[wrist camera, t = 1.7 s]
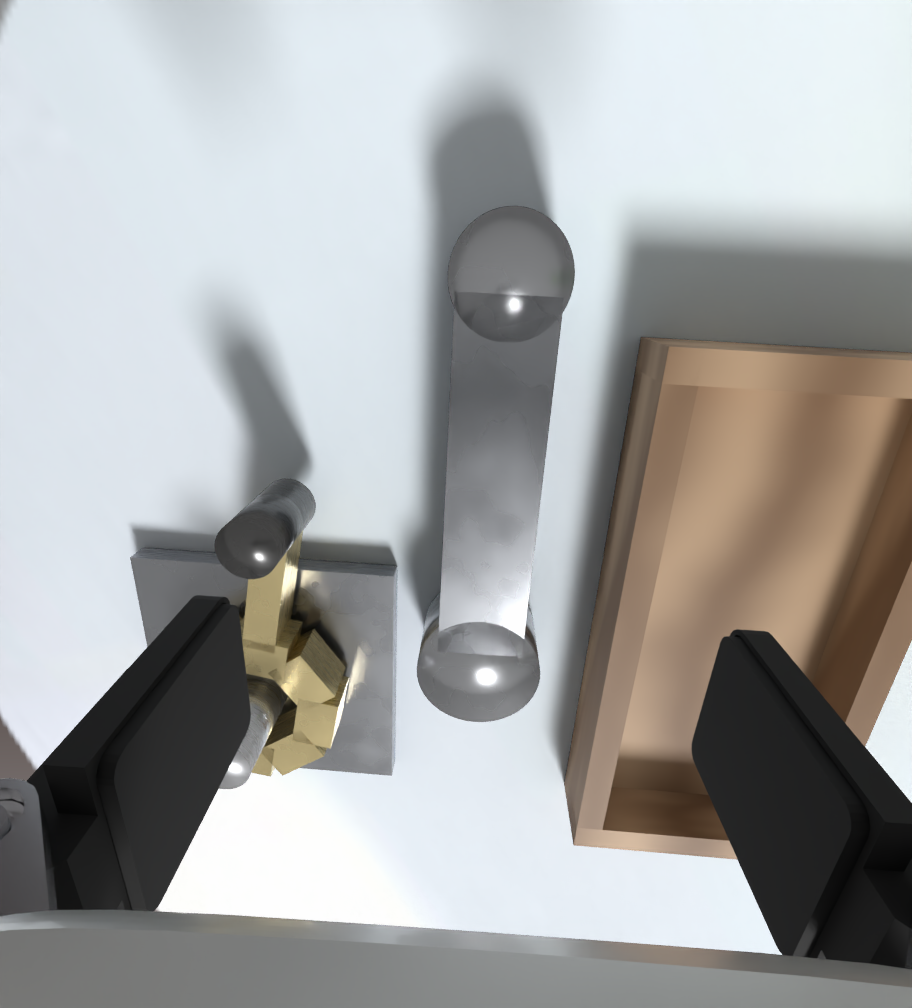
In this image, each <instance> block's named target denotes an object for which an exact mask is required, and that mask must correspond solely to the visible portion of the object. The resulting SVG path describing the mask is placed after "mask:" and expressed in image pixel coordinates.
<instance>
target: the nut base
mask: <svg viewBox="0 0 912 1008" xmlns="http://www.w3.org/2000/svg"><path fill="white" fill-rule="evenodd" d="M130 559H131V564H132V569H133V574H134V579H135V584H136V590H137V595H138V600H139V605H140V610H141V615H142V621H143V626H144V631H145V636H146V641H147V646H149V645H150V644H151V643H152V642H153V641H154V640H155V638H156V637H157V636H158V635H159V634H160V633H161V632H162V631H163V629H164V628H165V627H166V626H167V625H168V624H169V623H170V622H171V621H172V619H173V618H174V617H175V616H176V615H177V614H178V613H179V612H180V610H181V609H182V608H183V607H184V606H185V605H186V604H187V603H188V602H189V600H190V599H191V598H192V597H194V596H196V595H204V596H220V597H226V598H228V600H229V601H230V605H236V606H237V608H238V611H239V614H240V616H241V617H242V618H243V617H244V616H245V608H246V598H247V587H248V579H245V578H241V577H238V576H236V575H234V574H232V573H230V572H229V571H228V570H227V569H225V568H224V567H223V565H222V564H221V563H220V561H219V560H218V558H217V555H216V553H210V552H196V551H182V550H168V549H155V548H142V549H141V550H140V551H138V552H137V553H136V554H134V555H133V556H132V557H130ZM291 619H293V620H297V621H301V622H303V624H302V631H301V635H303V634H305V633H307V632H308V631H310V630H312V629H315V630H316V632H317V633H318V634H319V635H320V636H321V638H322V639H323V640H324V641H325V642H326V644H327V645H328V646H329V647H330V648H331V650H332V651H333V652H334V653H335V655H336V656H337V657H338V658H339V659H340V661H341V662H342V663H343V664H344V665H345V667H346V668H345V671H344V674H343V676H345V677H349V680H348V685H347V690H346V695H345V700H344V706H343V711H342V716H341V719H340V722H339V725H338V728H337V731H336V734H335V737H334V740H333V743H332V746H331V749H330V748H327V749H326V752H325V755H324V757H321V758H319V759H317V760H315V761H313V762H311V763H308V764H306V765H304V766H302V767H300V768H307V769H319V770H331V771H343V772H355V773H367V774H379V775H391V776H392V772H393V767H394V762H395V703H396V622H397V566H391V565H377V564H363V563H349V562H336V561H322V560H308V559H299V563H298V571H297V578H296V586H295V593H294V600H293V608H292V615H291ZM246 676H247V684H248V692H249V701H250V709H251V719H250V725H249V728H248V731H247V733H246V735H245V737H244V739H243V741H242V743H241V745H240V747H239V749H238V751H237V753H236V755H235V757H234V759H233V761H232V763H231V765H230V767H229V769H228V771H227V773H226V775H225V777H224V779H223V780H222V782H221V784H220V786H219V788H220V789H233V788H237V787H239V786H241V785H243V784H244V783H245V782H246V781H247V780H248V778H249V776H250V774H251V772H252V770H253V768H254V766H255V764H256V761H257V759H258V757H259V755H260V753H261V751H262V749H263V747H264V745H265V743H266V741H267V739H268V737H269V735H270V733H271V731H272V729H273V726H274V724H275V722H276V720H277V718H278V716H279V715H282V714H284V713H286V712H288V711H290V710H292V709H294V708H296V707H297V705H296V704H295V703H294V702H293V701H292V699H291V698H290V697H289V696H288V695H287V694H286V693H285V692H284V690H283V689H282V688H281V687H280V686H279V685H278V684H277V683H276V681H275V680H273V679H269V678H264V677H259V676H255V675H250V674H246Z"/></svg>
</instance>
